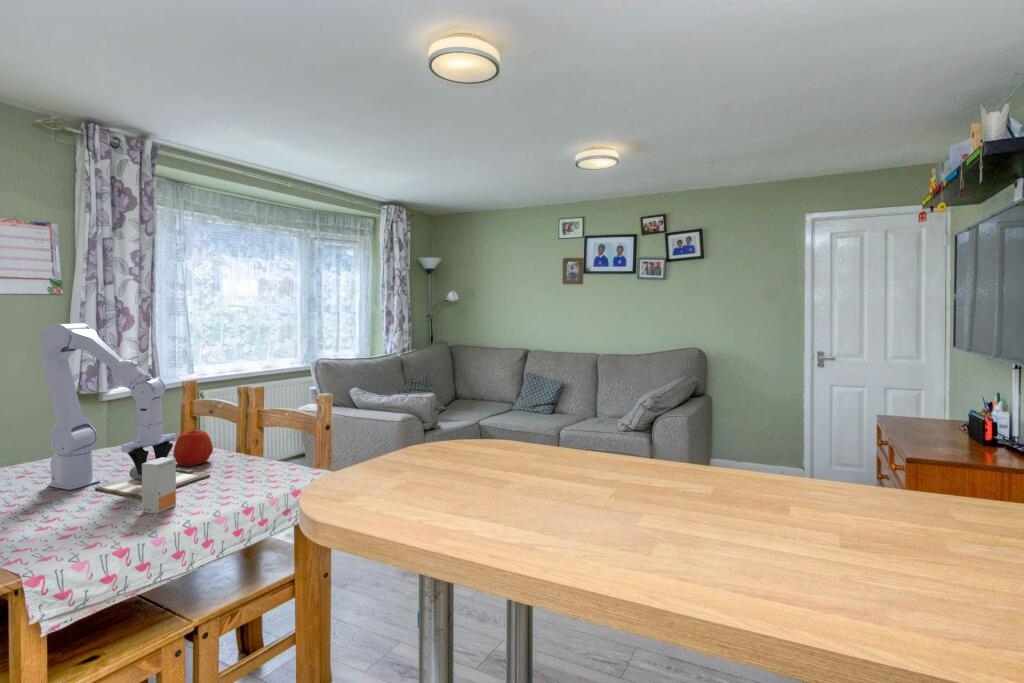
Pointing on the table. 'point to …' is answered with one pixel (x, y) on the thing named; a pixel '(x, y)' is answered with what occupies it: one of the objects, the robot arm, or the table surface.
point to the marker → (135, 474)
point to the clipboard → (135, 486)
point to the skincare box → (158, 485)
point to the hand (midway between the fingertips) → (151, 471)
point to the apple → (192, 448)
